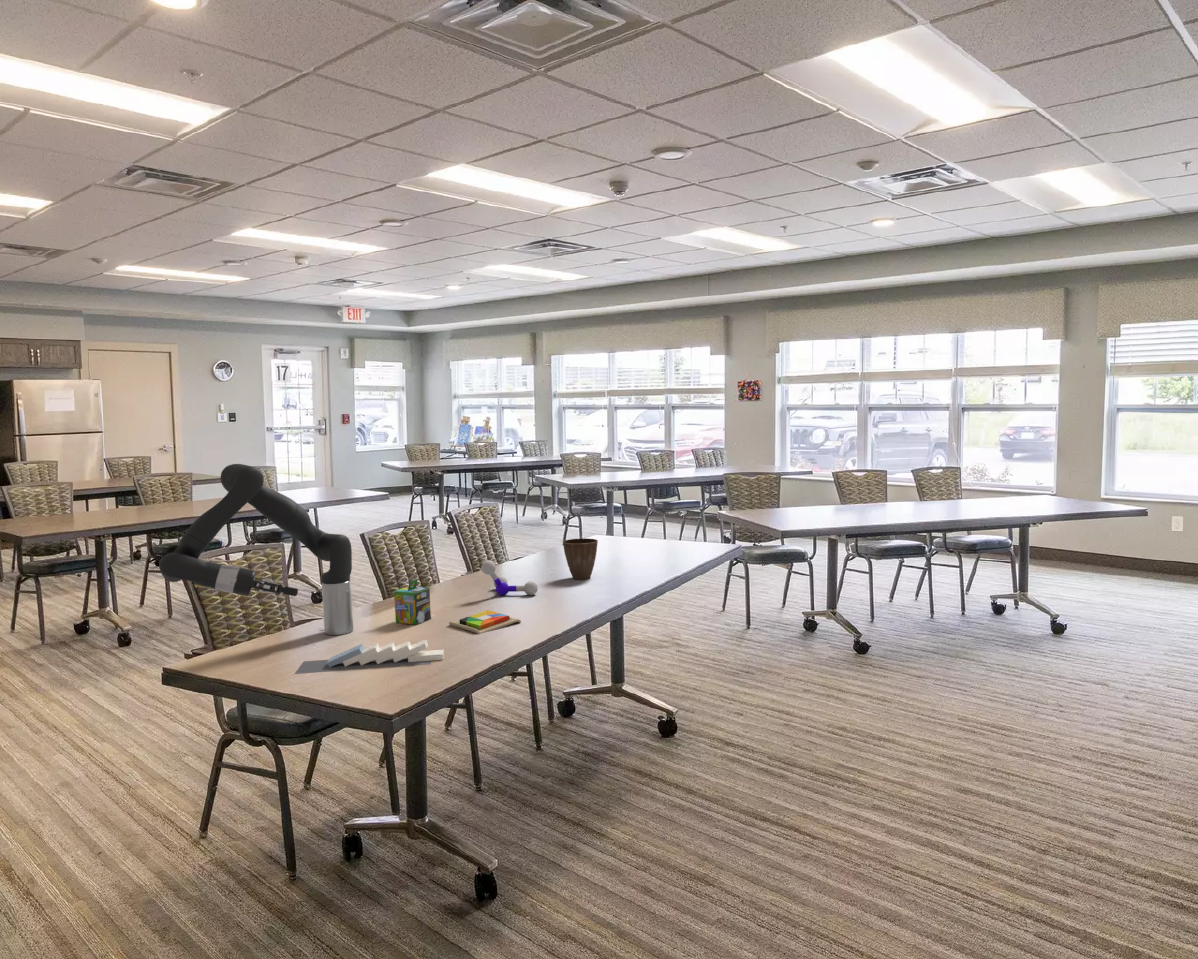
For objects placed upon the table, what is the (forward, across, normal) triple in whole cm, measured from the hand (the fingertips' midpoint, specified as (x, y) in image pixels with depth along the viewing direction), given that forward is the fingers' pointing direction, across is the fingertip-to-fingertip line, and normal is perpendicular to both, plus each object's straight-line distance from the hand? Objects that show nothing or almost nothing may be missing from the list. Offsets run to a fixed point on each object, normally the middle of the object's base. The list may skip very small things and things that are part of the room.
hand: (297, 592), depth 248 cm
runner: (+24, +4, -16) cm, 29 cm away
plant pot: (+109, -82, +28) cm, 139 cm away
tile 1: (+14, +2, -18) cm, 22 cm away
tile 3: (+22, +4, -15) cm, 27 cm away
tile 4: (+27, +5, -14) cm, 31 cm away
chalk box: (+40, -41, -2) cm, 57 cm away
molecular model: (+79, -66, +15) cm, 104 cm away
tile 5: (+31, +6, -13) cm, 34 cm away
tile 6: (+35, +7, -12) cm, 38 cm away
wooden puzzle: (+62, -25, +1) cm, 67 cm away
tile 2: (+18, +3, -16) cm, 25 cm away
